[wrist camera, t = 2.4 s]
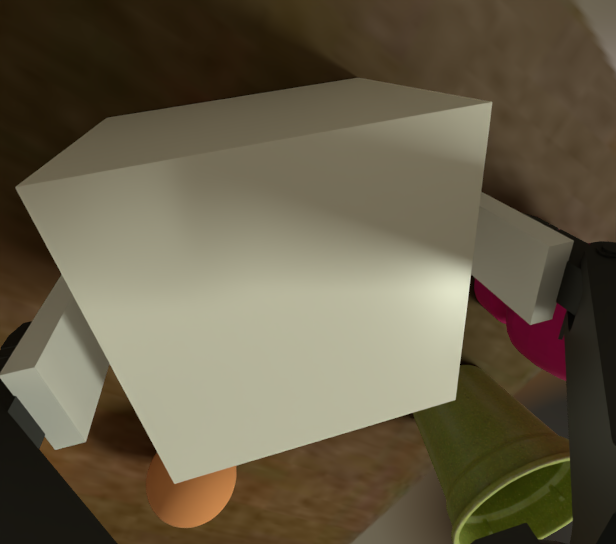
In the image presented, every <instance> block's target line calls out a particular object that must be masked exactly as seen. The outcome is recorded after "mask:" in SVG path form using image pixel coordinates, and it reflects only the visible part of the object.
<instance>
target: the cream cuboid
mask: <svg viewBox="0 0 616 544" xmlns="http://www.w3.org/2000/svg"><path fill="white" fill-rule="evenodd" d="M491 108H492V102H490V101H484V100H479V99H473V98H468V97H462V96H457V95H451V94H446V93H440V92H435V91H430V90H424V89H419V88H413V87H408V86H402V85H397V84H391V83H386V82H380V81H375V80H369V79H364V78H353V79H346V80H340V81H334V82H328V83H321V84H315V85H309V86H303V87H296V88H290V89H284V90H277V91H271V92H265V93H259V94H252V95H246V96H240V97H234V98H227V99H221V100H215V101H208V102H202V103H196V104H190V105H183V106H177V107H171V108H165V109H158V110H152V111H146V112H140V113H133V114H127V115H121V116H114V117H108V118H106V119H104V120H103V121H102V122H100V123H99V124H98V125H96V126H95V127H94V128H93V129H91V130H90V131H89V132H87V133H86V134H85V135H83V136H82V137H81V138H79V139H78V140H77V141H75V142H74V143H73V144H71V145H70V146H69V147H67V148H66V149H65V150H63V151H62V152H61V153H59V154H58V155H57V156H56V157H54V158H53V159H52V160H50V161H49V162H48V163H46V164H45V165H44V166H42V167H41V168H40V169H38V170H37V171H36V172H34V173H33V174H32V175H30V176H29V177H28V178H26V179H25V180H24V181H22V182H21V183H20V184H19V185H17V186H16V187H15V188H16V190H17V192H18V194H19V196H20V198H21V199H22V201H23V203H24V205H25V207H26V209H27V211H28V213H29V214H30V216H31V218H32V220H33V222H34V224H35V226H36V227H37V229H38V231H39V233H40V235H41V237H42V239H43V240H44V242H45V244H46V246H47V248H48V250H49V252H50V253H51V255H52V257H53V259H54V261H55V263H56V265H57V267H58V268H59V270H60V272H61V274H62V276H63V278H64V280H65V281H66V283H67V285H68V287H69V289H70V291H71V293H72V294H73V296H74V298H75V300H76V302H77V304H78V306H79V307H80V309H81V311H82V313H83V315H84V317H85V319H86V320H87V322H88V324H89V326H90V328H91V330H92V332H93V334H94V335H95V337H96V339H97V341H98V343H99V345H100V347H101V348H102V350H103V352H104V354H105V356H106V358H107V360H108V361H109V363H110V365H111V367H112V369H113V371H114V373H115V374H116V376H117V378H118V380H119V382H120V384H121V386H122V388H123V389H124V391H125V393H126V395H127V397H128V399H129V401H130V402H131V404H132V406H133V408H134V410H135V412H136V414H137V415H138V417H139V419H140V421H141V423H142V425H143V427H144V428H145V430H146V432H147V434H148V436H149V438H150V440H151V442H152V443H153V445H154V447H155V449H156V451H157V453H158V455H159V456H160V458H161V460H162V462H163V464H164V466H165V468H166V469H167V471H168V473H169V475H170V477H171V479H172V481H173V482H174V484H176V483H180V482H183V481H186V480H190V479H193V478H196V477H200V476H203V475H206V474H210V473H213V472H216V471H220V470H223V469H226V468H230V467H233V466H236V465H240V464H243V463H246V462H250V461H253V460H256V459H260V458H263V457H267V456H270V455H273V454H277V453H280V452H283V451H287V450H290V449H293V448H297V447H300V446H303V445H307V444H310V443H313V442H317V441H320V440H323V439H327V438H330V437H333V436H337V435H340V434H343V433H347V432H350V431H353V430H357V429H360V428H364V427H367V426H370V425H374V424H377V423H380V422H384V421H387V420H390V419H394V418H397V417H400V416H404V415H407V414H410V413H414V412H417V411H420V410H424V409H427V408H430V407H434V406H437V405H440V404H444V403H447V402H450V401H454V400H456V392H457V384H458V376H459V368H460V360H461V351H462V343H463V335H464V327H465V319H466V311H467V303H468V295H469V287H470V279H471V270H472V262H473V254H474V246H475V238H476V230H477V222H478V214H479V206H480V198H481V189H482V181H483V173H484V165H485V157H486V149H487V141H488V133H489V125H490V117H491Z"/></svg>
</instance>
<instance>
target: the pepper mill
mask: <svg viewBox="0 0 616 544" xmlns="http://www.w3.org/2000/svg"><path fill="white" fill-rule="evenodd" d="M558 230H560V229H558ZM588 244H590V243H588ZM474 291H475V295H476V298H477V300H478V301H479V303H480V304H481V305H482V306H483V307H484V308H485V309H486V310H487V311H488V312H489V313H491V314H492V315H493V316H494V317H495V318H496V319H497V320H499V321H500V322H502V323H504V324H506V326H507V332H508V335H509V337H510V340H511V342H512V344H513V345H514V346H515V347H516V349H517V350H518V351H519V352H520V353H521V354H523V355H524V356H525V357H526V358H528V359H529V360H530V361H531V362H532V363H534V364H535V365H536V366H538V367H540V368H542V369H543V370H545V371H547V372H549V373H551V374H552V375H554V376H556V377H558V378H560V379H563V380H565V381H566V363H565V341H564V337H563V339H562V340H560V339H558V337H559V334H560V330H561V327H562V324H563V320H564V317H565V314H566V309H565V308H563V307H562V306H561V305H559V304H558V303H557V304H556V307H555V311H554V314H553V318H552V319H551V320H547V321H544V322H540V323H536V324H532V325H530V324H528V323H527V322H526V321H525V320H524V319H523V318H521V317H520V316H519V315H518V314H517V313H516V312H514V311H513V310H512V309H511V308H510V307H509V306H507V305H506V304H505V303H504V302H503V301H502V300H500V299H499V298H498V297H497V296H496V295H495V294H493V293H492V292H491V291H490V290H489V289H488V288H487V287H485V286H484V285H483V284H482V283H481V282H480V281H478V280H477V279H476V278H475V283H474Z"/></svg>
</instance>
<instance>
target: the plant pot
mask: <svg viewBox="0 0 616 544" xmlns="http://www.w3.org/2000/svg"><path fill="white" fill-rule="evenodd" d="M413 415H414V418H415V421H416V424H417V426H418V429H419V431H420V433H421V436H422V438H423V441H424V443H425V446H426V448H427V451H428V453H429V456H430V459H431V461H432V464H433V466H434V469H435V471H436V474H437V476H438V479H439V481H440V484H441V487H442V489H443V492H444V495H445V497H446V500H447V503H446V504H447V505H446V506H447V512H448V515H449V517H450V520H451V523H452V526H453V528H452V532H451V538H452V542H453V544H470V543H472V542H473V541H474V540H476V539H479V538H482V537H485V536H488V535H491V534H494V533H497V532H500V531H503V530H505V529H508V528H511V527H514V526H517V525H520V524H523V523H526V522H527V524H528V525H529V527H530V528H531V530H532V531H533V533H534V534H535V536H536V537H537V539H543V538H545V537H547V536H548V535H550V534H552V533H554V532H556V531H557V530H559V529H561V528H562V527H564V526H565V525H567V524H568V523H570V522H571V521H573V515H572V493H571V472H570V450H569V440H568V439H566V438H564V437H561V436H558V435H557V434H556V433H555V432H553V431H552V430H551V429H550V428H549V427H548V426H546V425H545V424H544V423H543V422H542V421H541V420H539V419H538V418H537V417H536V416H534V415H533V414H532V413H531V412H530V411H529V410H528V409H527V408H525V407H524V406H523V405H522V404H521V403H519V402H518V401H517V400H516V399H515V398H514V397H513V396H512V395H510V394H509V393H508V392H507V391H506V390H505V389H504V388H502V387H501V386H500V385H499V384H498V383H497V382H496V381H495V380H493V379H492V378H491V377H490V376H489V375H488V374H486V373H485V372H484V371H483V370H482V369H480V368H478V367H476V366H472V365H460V368H459V376H458V384H457V392H456V400H454V401H450V402H447V403H444V404H440V405H437V406H434V407H430V408H427V409H424V410H420V411H417V412H414V413H413Z"/></svg>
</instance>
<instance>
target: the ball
mask: <svg viewBox="0 0 616 544" xmlns="http://www.w3.org/2000/svg"><path fill="white" fill-rule="evenodd" d="M235 482H236V466H233V467H230V468H226V469H223V470H220V471H216V472H213V473H210V474H206V475H203V476H200V477H196V478H193V479H190V480H186V481H183V482H180V483H176V484H174V482H173V481H172V479H171V477H170V475H169V473H168V471H167V469H166V468H165V466H164V464H163V462H162V460H161V458H160V456H159V455H158V453H156V454H155V456H154V458H153V459H152V461H151V464H150V466H149V469H148V473H147V478H146V492H147V497H148V501H149V504H150V506H151V508H152V510H153V511H154V512H155V514H156V515H157V516H158V517H159V518H160V519H161V520H162V521H164V522H166V523H167V524H169V525H172V526H175V527H180V528H190V527H196V526H199V525H202V524H204V523H206V522H208V521H210V520H211V519H213V518H214V517H215V516H216V515H217V514H218V513H219V512H221V510H222V509H223V508H224V507H225V505H226V504H227V502H228V501H229V499H230V497H231V495H232V492H233V490H234V486H235Z"/></svg>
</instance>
